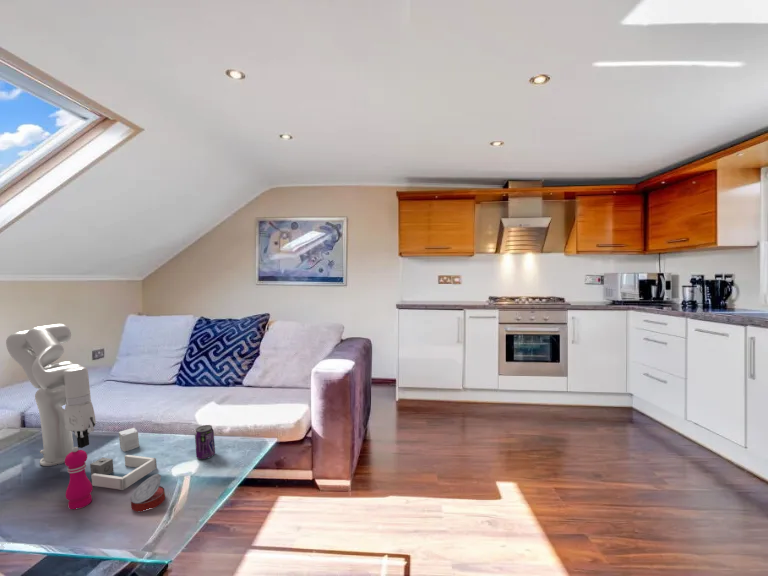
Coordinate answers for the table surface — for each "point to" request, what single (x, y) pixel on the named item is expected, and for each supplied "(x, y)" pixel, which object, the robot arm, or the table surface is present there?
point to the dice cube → (102, 466)
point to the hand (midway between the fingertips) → (83, 446)
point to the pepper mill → (78, 480)
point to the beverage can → (204, 442)
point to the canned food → (148, 494)
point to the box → (122, 483)
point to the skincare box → (128, 439)
